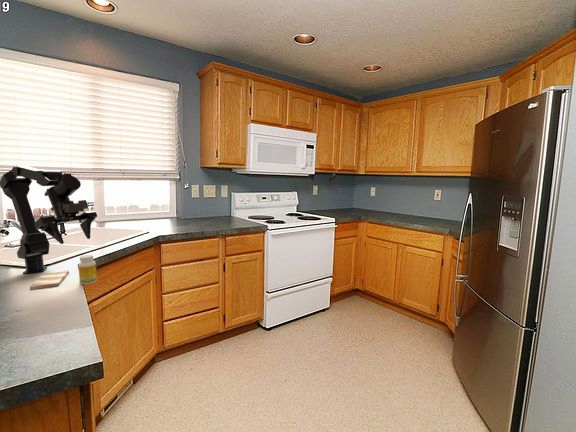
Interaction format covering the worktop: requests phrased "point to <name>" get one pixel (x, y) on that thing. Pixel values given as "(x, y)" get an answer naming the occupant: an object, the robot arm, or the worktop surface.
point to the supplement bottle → (87, 270)
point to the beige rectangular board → (49, 279)
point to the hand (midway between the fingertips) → (76, 241)
